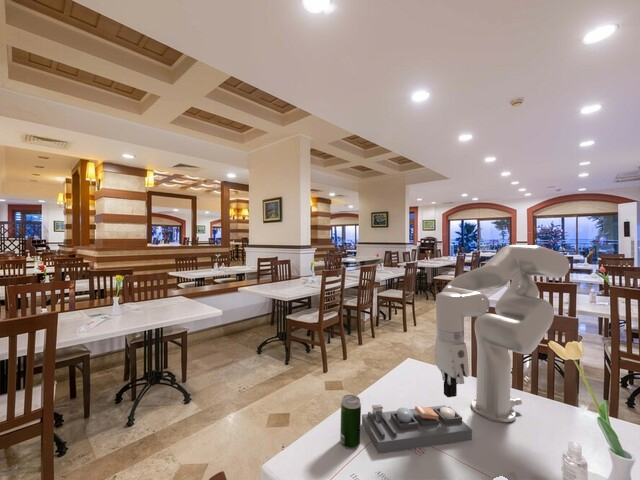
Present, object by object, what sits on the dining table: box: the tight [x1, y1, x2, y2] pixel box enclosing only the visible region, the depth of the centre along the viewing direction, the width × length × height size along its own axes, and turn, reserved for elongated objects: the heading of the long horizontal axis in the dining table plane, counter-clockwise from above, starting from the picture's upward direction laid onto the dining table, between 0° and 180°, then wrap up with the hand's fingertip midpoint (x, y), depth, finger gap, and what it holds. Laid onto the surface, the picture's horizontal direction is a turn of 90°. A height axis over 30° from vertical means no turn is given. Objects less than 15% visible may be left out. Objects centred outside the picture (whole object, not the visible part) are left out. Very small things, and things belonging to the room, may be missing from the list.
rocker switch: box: [414, 405, 439, 419], centre depth 85 cm, size 5×4×1 cm
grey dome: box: [396, 407, 412, 423], centre depth 83 cm, size 4×4×2 cm
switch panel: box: [361, 405, 473, 455], centre depth 84 cm, size 28×12×4 cm, turn 102°
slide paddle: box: [371, 404, 384, 421], centre depth 85 cm, size 3×2×4 cm
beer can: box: [339, 394, 362, 451], centre depth 79 cm, size 5×5×12 cm
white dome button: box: [440, 406, 456, 418], centre depth 86 cm, size 4×4×2 cm
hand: (450, 395), depth 87 cm, fingers closed
